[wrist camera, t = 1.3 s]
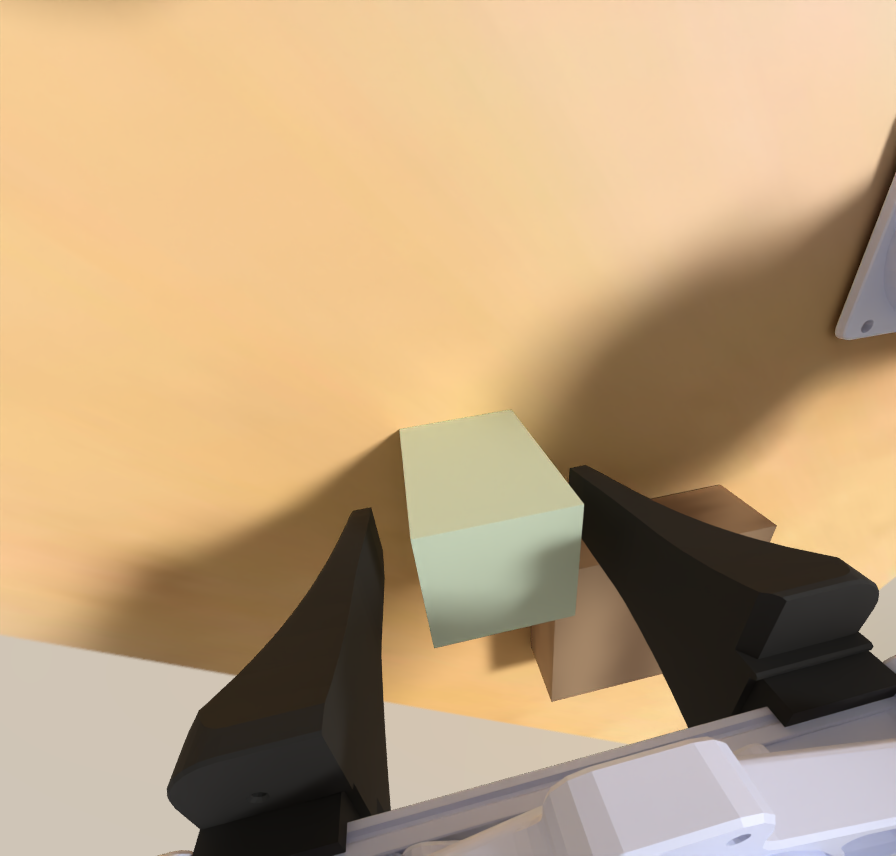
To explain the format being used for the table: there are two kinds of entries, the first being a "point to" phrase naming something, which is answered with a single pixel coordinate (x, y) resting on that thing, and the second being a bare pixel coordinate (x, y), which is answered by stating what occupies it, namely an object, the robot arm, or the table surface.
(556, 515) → the sage block
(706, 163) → the table surface
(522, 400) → the table surface
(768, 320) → the table surface
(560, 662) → the walnut base
